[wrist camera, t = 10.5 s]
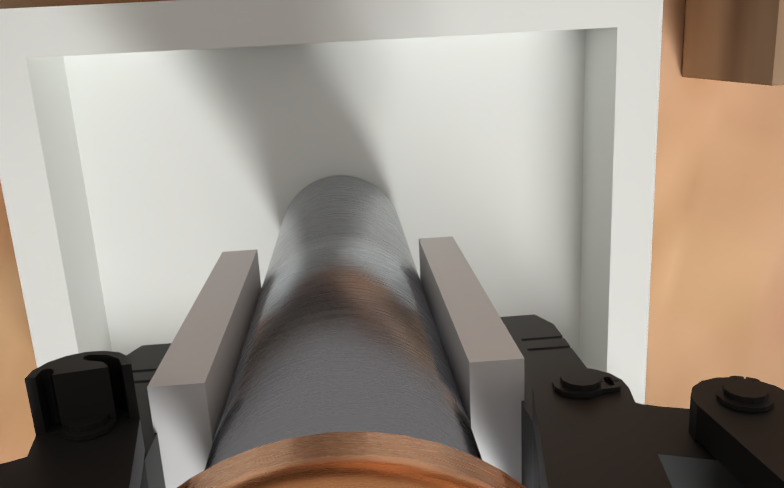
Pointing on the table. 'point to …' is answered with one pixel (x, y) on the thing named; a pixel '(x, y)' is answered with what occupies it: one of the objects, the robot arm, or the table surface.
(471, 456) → the pin
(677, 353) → the table surface
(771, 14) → the socket block
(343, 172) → the tray
